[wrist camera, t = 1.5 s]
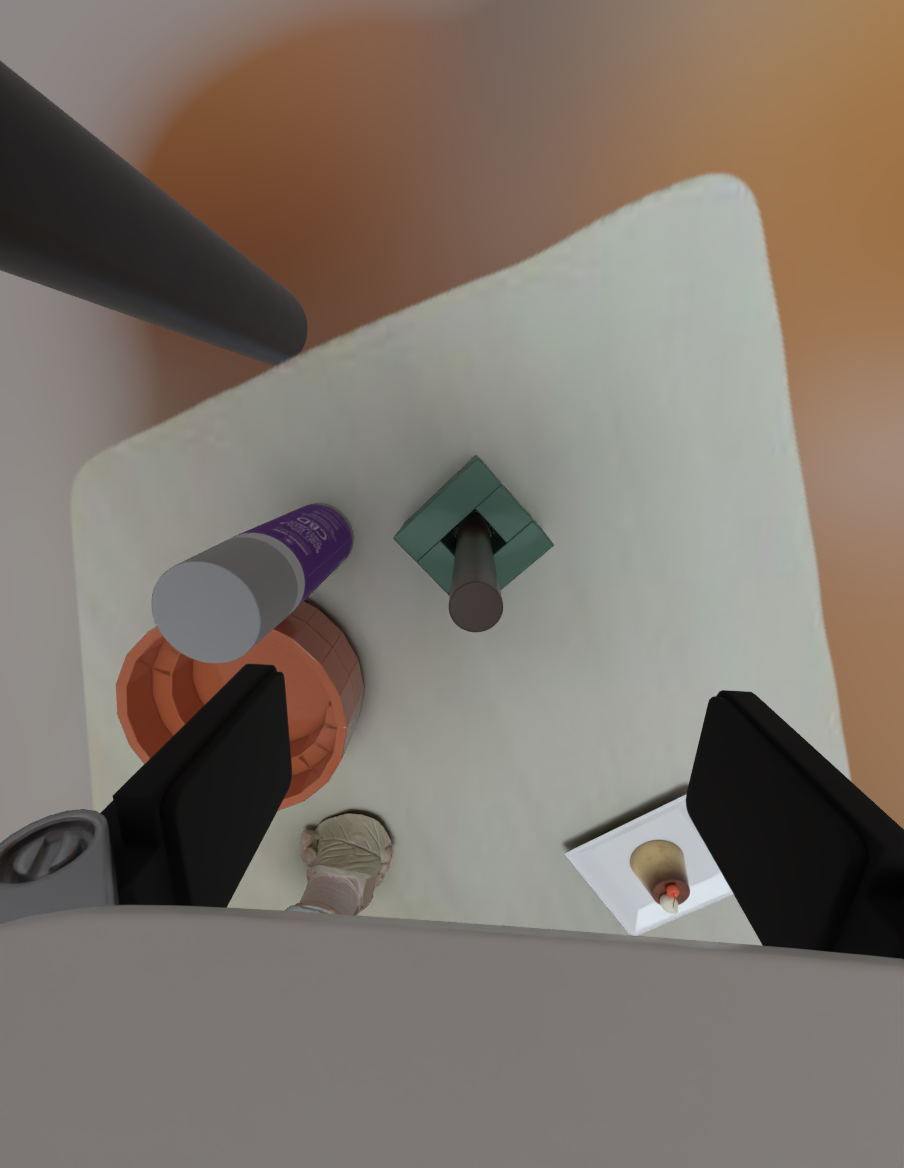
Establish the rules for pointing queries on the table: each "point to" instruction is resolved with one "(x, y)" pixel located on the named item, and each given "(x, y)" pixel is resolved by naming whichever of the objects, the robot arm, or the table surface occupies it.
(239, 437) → the table surface
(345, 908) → the figurine
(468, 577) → the stick
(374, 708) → the table surface
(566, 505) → the table surface
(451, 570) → the holder
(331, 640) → the bowl
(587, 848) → the dessert
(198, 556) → the container
